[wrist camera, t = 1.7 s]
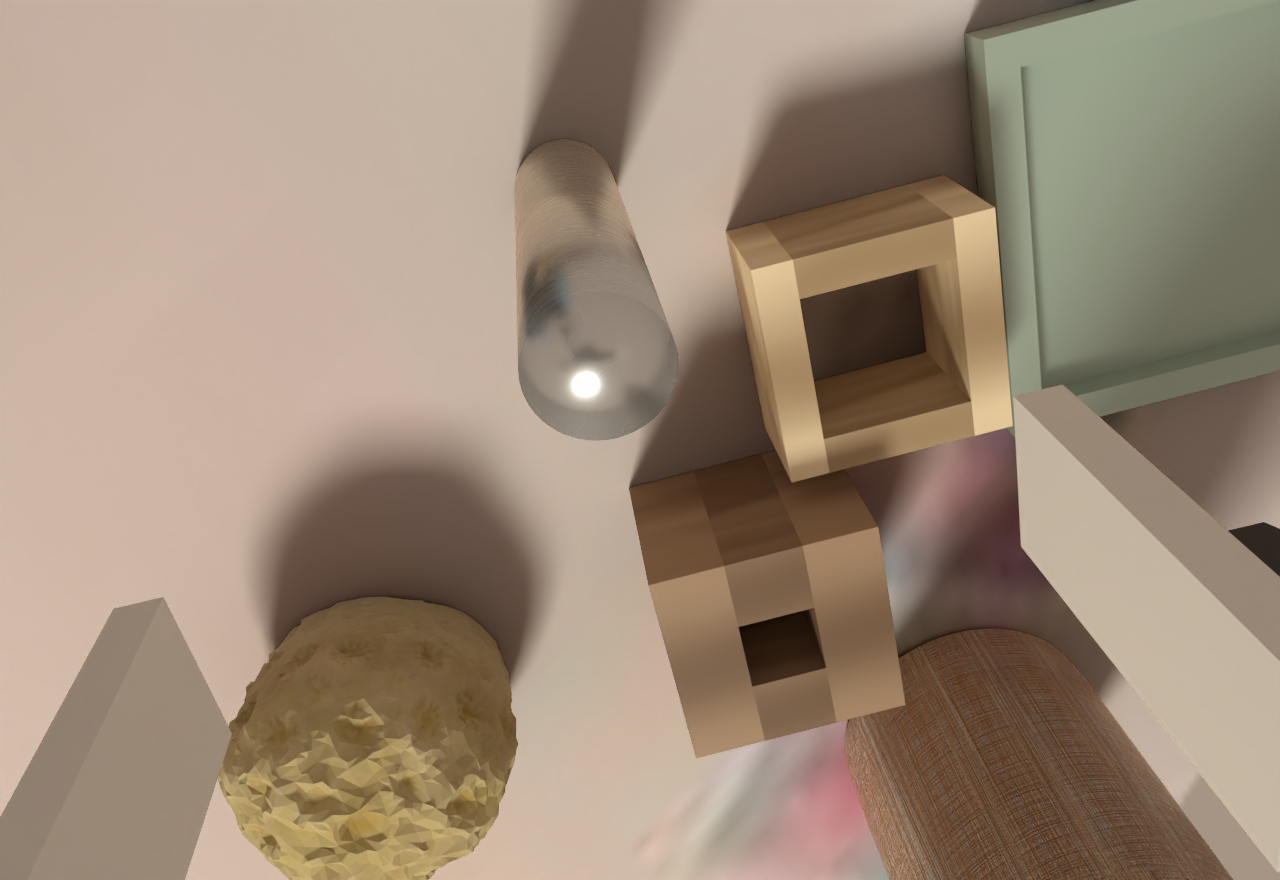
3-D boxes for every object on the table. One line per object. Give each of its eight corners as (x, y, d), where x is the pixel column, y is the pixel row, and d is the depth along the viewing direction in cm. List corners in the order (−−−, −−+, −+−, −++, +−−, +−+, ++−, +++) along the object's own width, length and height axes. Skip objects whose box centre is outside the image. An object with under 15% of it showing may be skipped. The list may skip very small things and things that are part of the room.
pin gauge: (502, 153, 32) (498, 315, 20) (601, 127, 32) (659, 274, 20) (530, 249, 34) (542, 457, 21) (625, 224, 34) (692, 418, 21)
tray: (963, 34, 32) (983, 40, 31) (1395, -78, 32) (1433, -77, 31) (997, 419, 38) (1015, 438, 37) (1361, 326, 38) (1392, 341, 37)
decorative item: (503, 567, 43) (434, 554, 33) (569, 819, 41) (516, 883, 32) (276, 635, 43) (140, 641, 34) (332, 886, 42) (207, 970, 32)
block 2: (628, 487, 38) (648, 585, 32) (826, 437, 38) (878, 526, 32) (672, 645, 41) (696, 758, 36) (853, 599, 41) (905, 704, 36)
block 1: (725, 231, 34) (750, 270, 31) (944, 174, 34) (995, 207, 30) (764, 426, 37) (791, 482, 34) (964, 375, 37) (1012, 425, 34)
